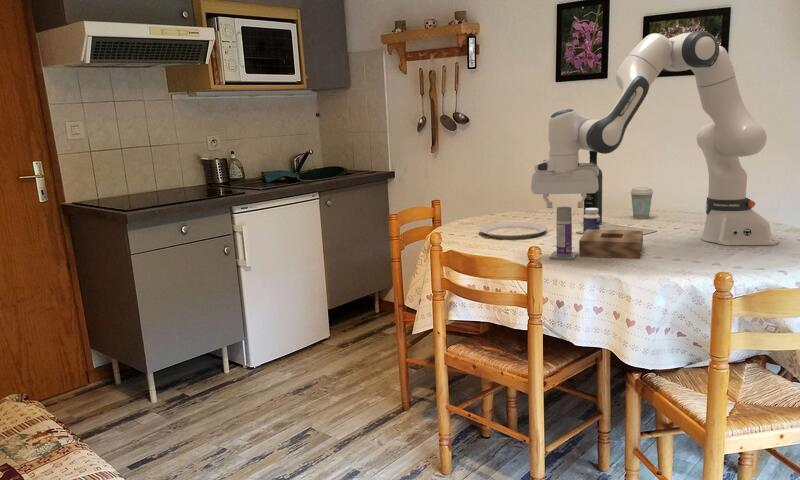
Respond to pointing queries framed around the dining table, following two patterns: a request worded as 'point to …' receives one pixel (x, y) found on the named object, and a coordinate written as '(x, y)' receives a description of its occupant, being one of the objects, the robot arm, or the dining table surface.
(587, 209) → the pill bottle
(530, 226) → the plate
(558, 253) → the container
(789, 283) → the dining table surface
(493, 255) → the dining table surface
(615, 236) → the socket block
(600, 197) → the wine bottle
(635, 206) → the coffee cup
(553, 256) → the coaster
